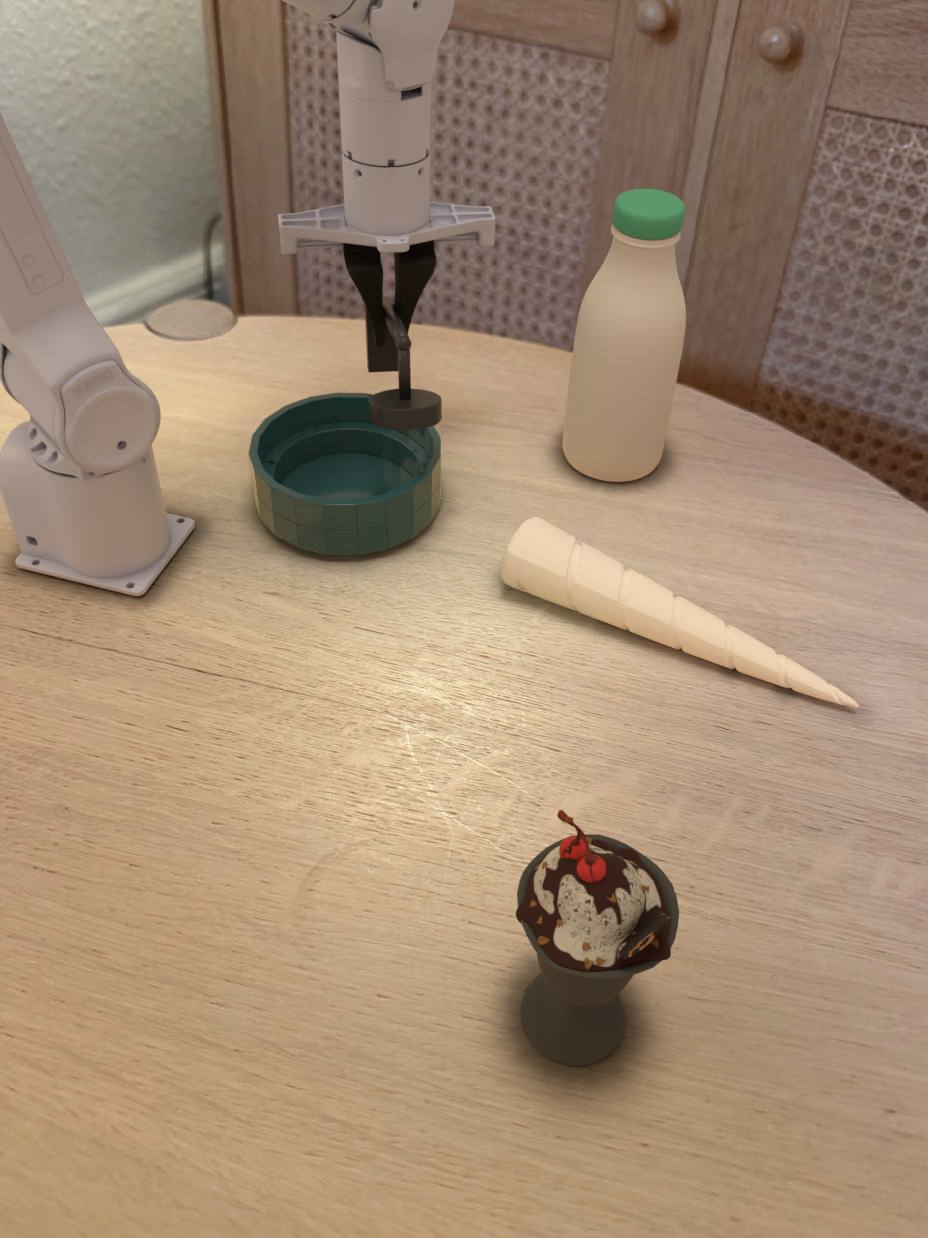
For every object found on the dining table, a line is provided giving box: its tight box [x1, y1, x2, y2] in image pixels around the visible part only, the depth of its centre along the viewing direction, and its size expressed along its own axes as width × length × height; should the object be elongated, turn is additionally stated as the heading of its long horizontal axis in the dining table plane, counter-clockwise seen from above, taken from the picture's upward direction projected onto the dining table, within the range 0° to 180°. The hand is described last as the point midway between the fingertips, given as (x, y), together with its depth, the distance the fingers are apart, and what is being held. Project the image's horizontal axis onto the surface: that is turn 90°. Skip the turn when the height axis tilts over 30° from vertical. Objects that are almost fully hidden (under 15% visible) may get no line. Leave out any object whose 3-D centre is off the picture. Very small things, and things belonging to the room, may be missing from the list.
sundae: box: [515, 809, 680, 1066], centre depth 46 cm, size 7×7×15 cm
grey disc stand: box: [364, 296, 443, 430], centre depth 75 cm, size 15×5×6 cm, turn 9°
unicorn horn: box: [500, 516, 861, 708], centre depth 67 cm, size 5×24×5 cm, turn 57°
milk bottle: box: [561, 188, 687, 483], centre depth 77 cm, size 8×8×20 cm
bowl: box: [248, 392, 442, 556], centre depth 77 cm, size 13×13×5 cm
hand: (389, 338), depth 79 cm, fingers closed on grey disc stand
